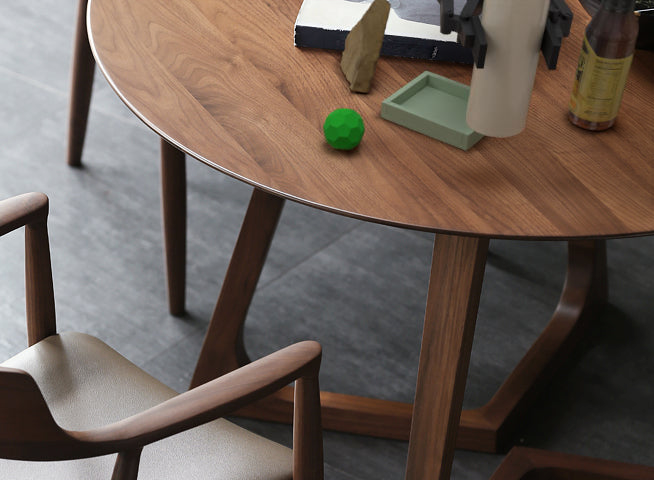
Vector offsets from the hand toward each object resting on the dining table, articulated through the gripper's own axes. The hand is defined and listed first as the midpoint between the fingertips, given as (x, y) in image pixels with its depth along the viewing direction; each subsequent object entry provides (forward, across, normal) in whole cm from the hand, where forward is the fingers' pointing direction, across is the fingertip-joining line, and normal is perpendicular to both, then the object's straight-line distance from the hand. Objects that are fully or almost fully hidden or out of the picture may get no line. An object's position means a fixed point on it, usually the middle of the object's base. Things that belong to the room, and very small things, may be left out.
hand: (518, 57), depth 111 cm
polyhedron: (-11, +17, -18) cm, 27 cm away
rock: (-29, +14, -18) cm, 37 cm away
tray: (-19, +3, -18) cm, 26 cm away
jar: (-5, 0, -10) cm, 12 cm away
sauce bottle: (-18, -15, -18) cm, 30 cm away
